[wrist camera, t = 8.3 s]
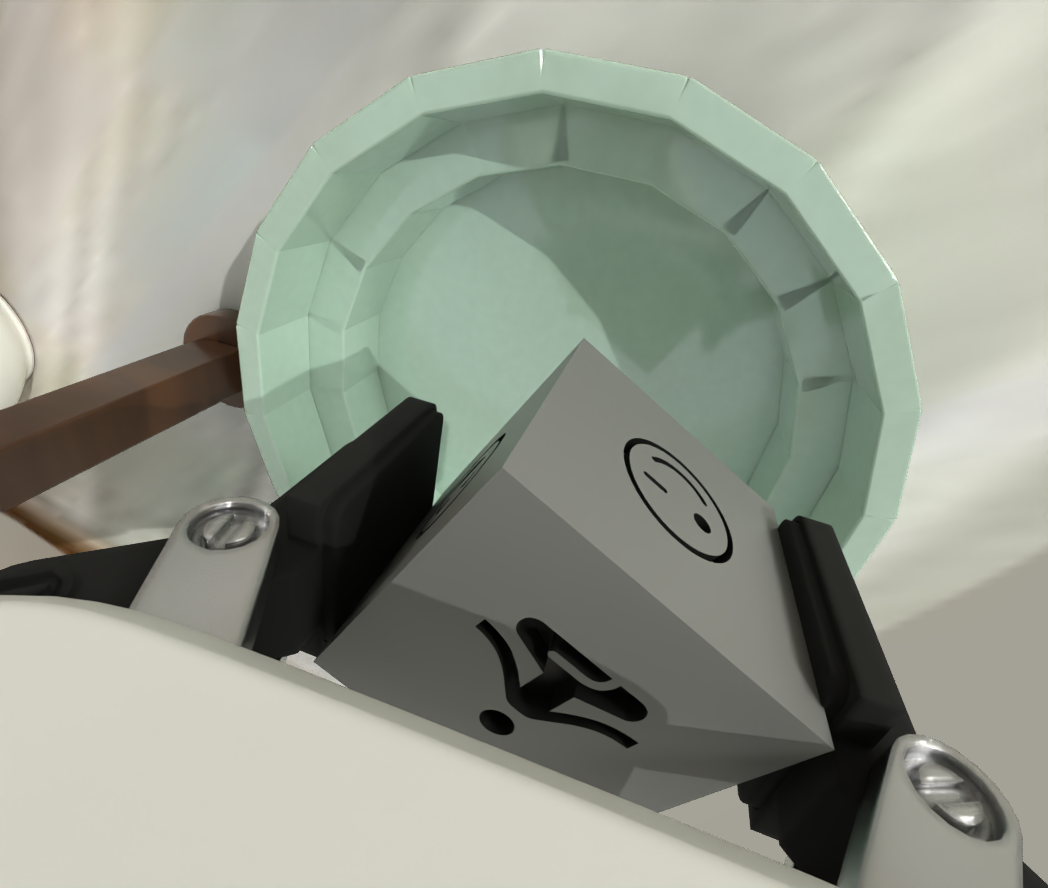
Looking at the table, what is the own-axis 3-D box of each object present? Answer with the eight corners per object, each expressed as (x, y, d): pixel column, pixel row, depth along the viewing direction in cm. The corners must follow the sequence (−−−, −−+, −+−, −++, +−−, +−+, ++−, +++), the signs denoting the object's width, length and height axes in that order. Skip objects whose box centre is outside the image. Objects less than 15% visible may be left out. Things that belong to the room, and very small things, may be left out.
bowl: (341, 505, 27) (260, 584, 22) (344, 36, 17) (200, -19, 12) (720, 633, 24) (729, 758, 19) (985, 164, 14) (1149, 163, 9)
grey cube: (773, 508, 10) (834, 749, 6) (601, 622, 13) (557, 848, 9) (584, 337, 10) (502, 467, 5) (443, 491, 12) (313, 661, 8)
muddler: (206, 386, 26) (-68, 512, 16) (194, 298, 24) (-131, 385, 14) (285, 411, 25) (48, 557, 16) (280, 323, 23) (0, 432, 14)
